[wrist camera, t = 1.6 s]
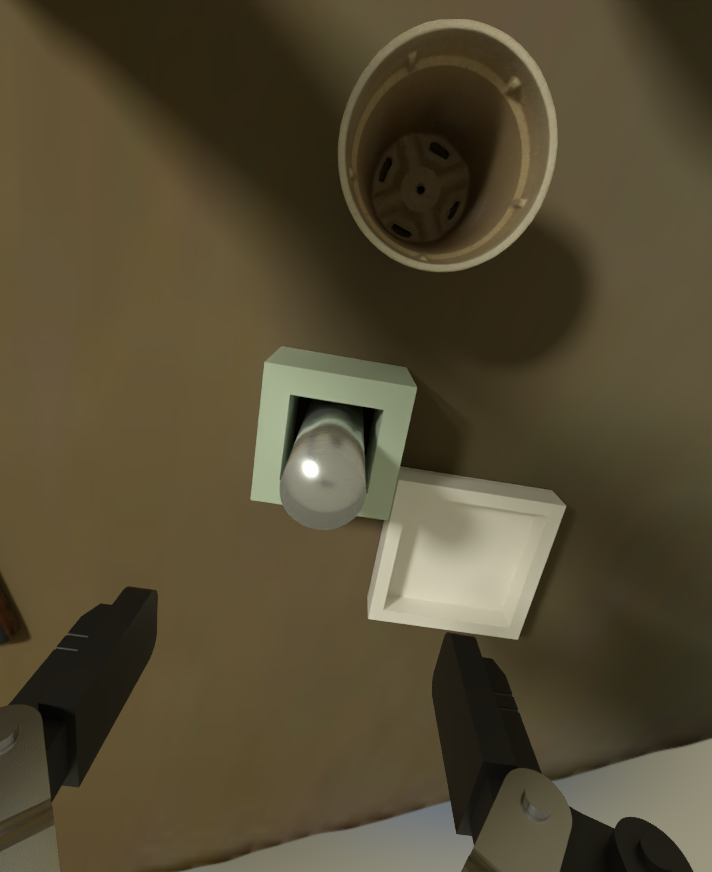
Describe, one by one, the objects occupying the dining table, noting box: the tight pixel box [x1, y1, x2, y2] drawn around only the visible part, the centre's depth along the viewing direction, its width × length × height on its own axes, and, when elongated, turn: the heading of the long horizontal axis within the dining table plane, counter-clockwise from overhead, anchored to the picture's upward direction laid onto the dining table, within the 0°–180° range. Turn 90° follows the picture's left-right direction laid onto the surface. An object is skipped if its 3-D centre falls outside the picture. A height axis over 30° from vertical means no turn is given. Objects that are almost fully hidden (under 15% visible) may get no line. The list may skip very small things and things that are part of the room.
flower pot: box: [338, 19, 558, 272], centre depth 23 cm, size 9×9×9 cm
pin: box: [279, 398, 366, 530], centre depth 27 cm, size 4×4×12 cm
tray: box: [367, 466, 566, 640], centre depth 35 cm, size 12×12×2 cm
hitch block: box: [251, 346, 417, 521], centre depth 29 cm, size 9×9×6 cm
